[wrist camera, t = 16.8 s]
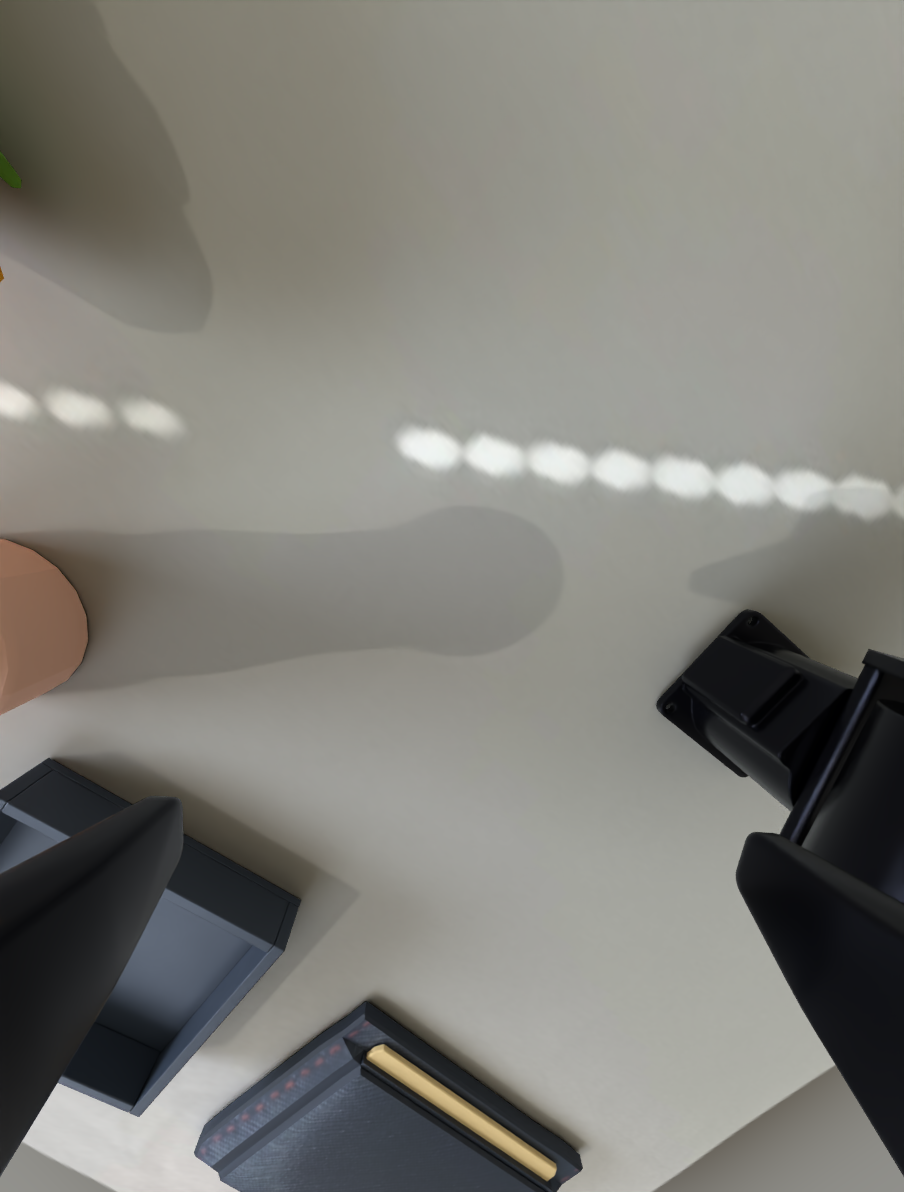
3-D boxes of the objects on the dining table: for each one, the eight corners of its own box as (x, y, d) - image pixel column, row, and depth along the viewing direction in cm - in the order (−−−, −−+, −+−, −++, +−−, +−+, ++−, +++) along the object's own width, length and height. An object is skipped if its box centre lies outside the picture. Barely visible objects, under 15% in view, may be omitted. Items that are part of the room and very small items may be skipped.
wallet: (172, 1179, 23) (369, 1032, 22) (191, 1129, 25) (374, 991, 24) (412, 1317, 27) (594, 1201, 26) (413, 1265, 29) (583, 1154, 28)
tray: (301, 900, 22) (285, 950, 20) (169, 1053, 24) (138, 1118, 21) (49, 757, 20) (-8, 794, 17) (-77, 940, 22) (-145, 998, 19)
